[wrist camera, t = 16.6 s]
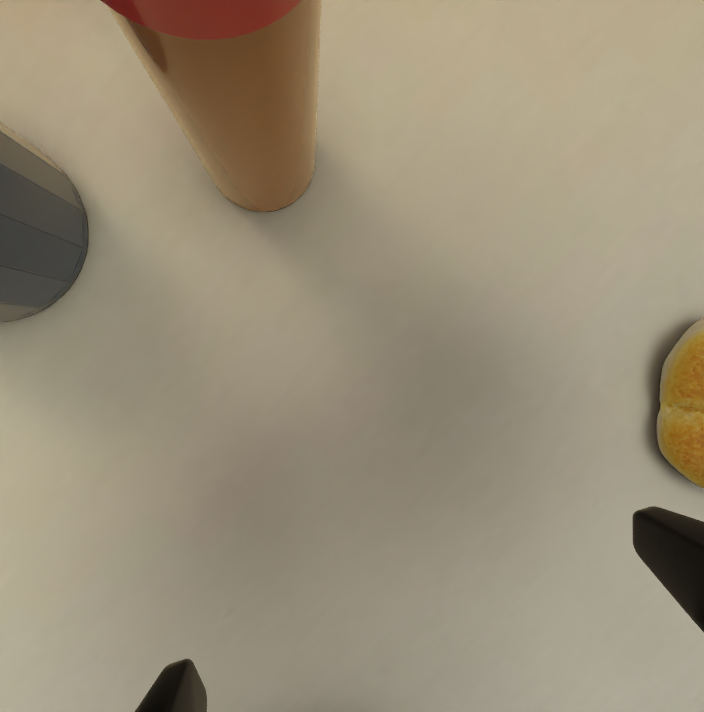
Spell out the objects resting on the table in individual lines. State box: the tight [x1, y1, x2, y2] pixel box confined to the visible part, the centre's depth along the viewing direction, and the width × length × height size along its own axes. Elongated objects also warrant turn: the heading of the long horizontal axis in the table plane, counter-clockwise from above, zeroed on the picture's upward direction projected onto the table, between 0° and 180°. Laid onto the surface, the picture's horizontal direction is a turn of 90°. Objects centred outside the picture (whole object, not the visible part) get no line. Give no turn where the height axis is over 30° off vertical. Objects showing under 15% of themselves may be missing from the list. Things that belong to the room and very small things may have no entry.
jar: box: [101, 0, 321, 212], centre depth 12 cm, size 5×5×12 cm
